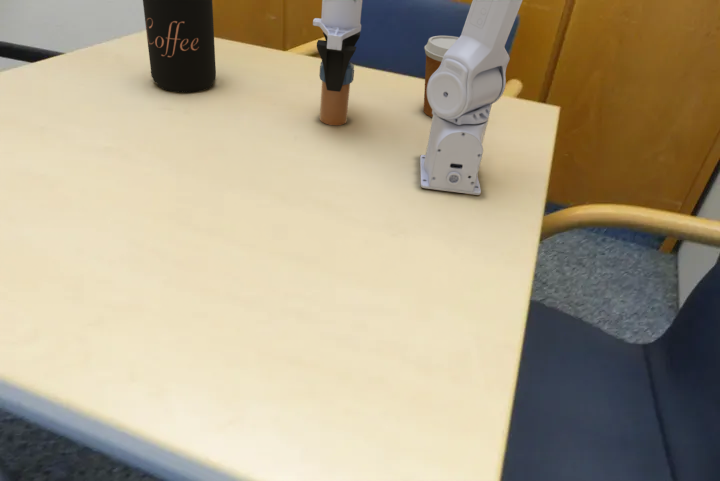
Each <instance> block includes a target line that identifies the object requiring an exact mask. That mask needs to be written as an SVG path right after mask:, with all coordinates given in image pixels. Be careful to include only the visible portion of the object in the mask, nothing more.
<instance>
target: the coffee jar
mask: <svg viewBox="0 0 720 481" xmlns="http://www.w3.org/2000/svg"><path fill="white" fill-rule="evenodd" d="M142 4H143V14H144V23H145V31H146V41H147V48H148V57H149V67H150V75H151V78H152V80H153V81H154V83H155V84H156V86H157V87H158V88H161V89H162V90H165V91H168V92H172V93H173V92H174V93H188V94H189V93H197V92H202V91H206V90H208V89H210V88H211V87H212V86H213V84H214V82H215V81H216V78H217V72H216V71H217V69H216V68H217V67H216V51H215V50H216V49H215V48H216V47H215V46H216V45H215V29H214V26H215V25H214V8H213V6H214V4H213V0H142Z"/></svg>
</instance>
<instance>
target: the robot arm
mask: <svg viewBox="0 0 720 481" xmlns="http://www.w3.org/2000/svg"><path fill="white" fill-rule="evenodd" d="M523 1H524V0H472V1H471V5H470V7H469V10H468V13H467V16H466V19H465V22H464V25H463V27H462V30H461V34H460V36H458V37H459V38H458V39H457V41H456V42H455V43H454V44H453V45H452V46H451V47H450V48H449V49H448V51H447V52H446V53H445V54H444V56H443V60H442V62H441V65H440V66H439V68H438V69H437V70H436V71H435V72H434V73H433V74H432V76H431V77H430V79H429V81H428V84H427V98H428V102H429V104H430V106H431V108H432V114H433V117H431V118H432V119H431V123H430V129H429V135H428V139H427V146H426V151H425V154H421V155H420V156H419V169H420V170H419V173H420V174H419V175H420V187H421V188H423V189H427V190H435V191H442V192H450V193H458V194H467V195H475V196H479V195H481V193H482V189H481V185H480V181H479V180H480V179H479V170H480V168H481V167H480V166H481V162H482V159H483V154H484V147H483V142H484V139H485V135H486V130H487V126H488V123H489V118H490V114H491V109H492V105H493V104H495V103H497V101H499V100H500V99H501V97H502V96H503V94H504V92H505V89H506V84H507V79H506V73H507V72H506V71H507V67H508V64H509V62H510V55H509V53H508V51H507V50H506V48H505V46H506V44H507V41H508V38H509V36H510V33H511V31H512V28H513V26H514V23H515V20H516V19H517V16H518V13H519V10H520V8H521V5H522V3H523ZM362 9H363V0H321V16H320V17H321V18H319V17H315V18H313V20H312V26H314V27H319V28H320V29H321V30H322V35H323V36H324V40H323V39H318V40H317V42H316V49H317V52H318V54H319V57H320V60H321V62H322V63H323V67H324V74H325V82H326V88H327V90H329V91H337V92H340V91H341V88H342V85H343V82H344V78H345V73H346V69H347V66H348V63H349V62H350V61H351V59H352V57H353V56H354V55H355V52H356V50H357V46H356V44H357V42H358V41H359V40H360V37H361V32H362V23H361V21H362V20H361V19H362Z"/></svg>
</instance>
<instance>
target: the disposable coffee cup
mask: <svg viewBox="0 0 720 481" xmlns="http://www.w3.org/2000/svg"><path fill="white" fill-rule="evenodd" d="M459 37H460V36H454V35H435V36H431V37H429V38H428V40H427V42H426V44H425V45H424V47H423V50H424V52H425V53H424V54H425V71H424V72H425V74H424V92H423V93H424V95H423V112H424V114H425V115H427V116H428V117H430V118H433V114H432V108H431V106H430V104H429V102H428V98H427V84H428V81H429V79H430V77H431V76H432V74H433V73H434V72H435V71H436V70H437V69H438V68H439V66H440V65H441V62H442V60H443V56H444V54H445V53H446V52H447V51H448V49H449V48H450V47H451V46H452V45H453V44H454V43H455V42H456V41H457V39H458V38H459Z"/></svg>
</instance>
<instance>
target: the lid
mask: <svg viewBox="0 0 720 481" xmlns="http://www.w3.org/2000/svg"><path fill="white" fill-rule="evenodd" d="M354 76H355V65H354V64H353V63H352V62H350V61H349V63H348V66H347V69H346V73H345V78H344V82H343V85H346V84H350V85H351V84H352V83H353V81H354ZM319 80H320V81H321V82H322V81H323V82H325V74H324V67H323V63H322V61H320V65H319Z"/></svg>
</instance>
